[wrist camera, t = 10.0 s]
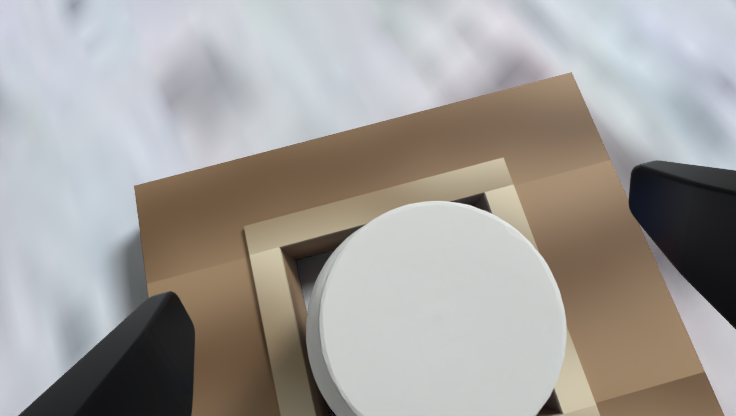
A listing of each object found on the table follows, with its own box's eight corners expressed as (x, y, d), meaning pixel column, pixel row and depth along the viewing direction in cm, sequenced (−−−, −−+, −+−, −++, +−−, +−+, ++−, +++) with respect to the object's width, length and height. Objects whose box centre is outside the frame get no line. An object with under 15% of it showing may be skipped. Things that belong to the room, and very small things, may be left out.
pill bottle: (515, 364, 16) (697, 406, 7) (381, 441, 16) (376, 605, 6) (437, 232, 17) (497, 112, 8) (312, 298, 17) (221, 254, 8)
